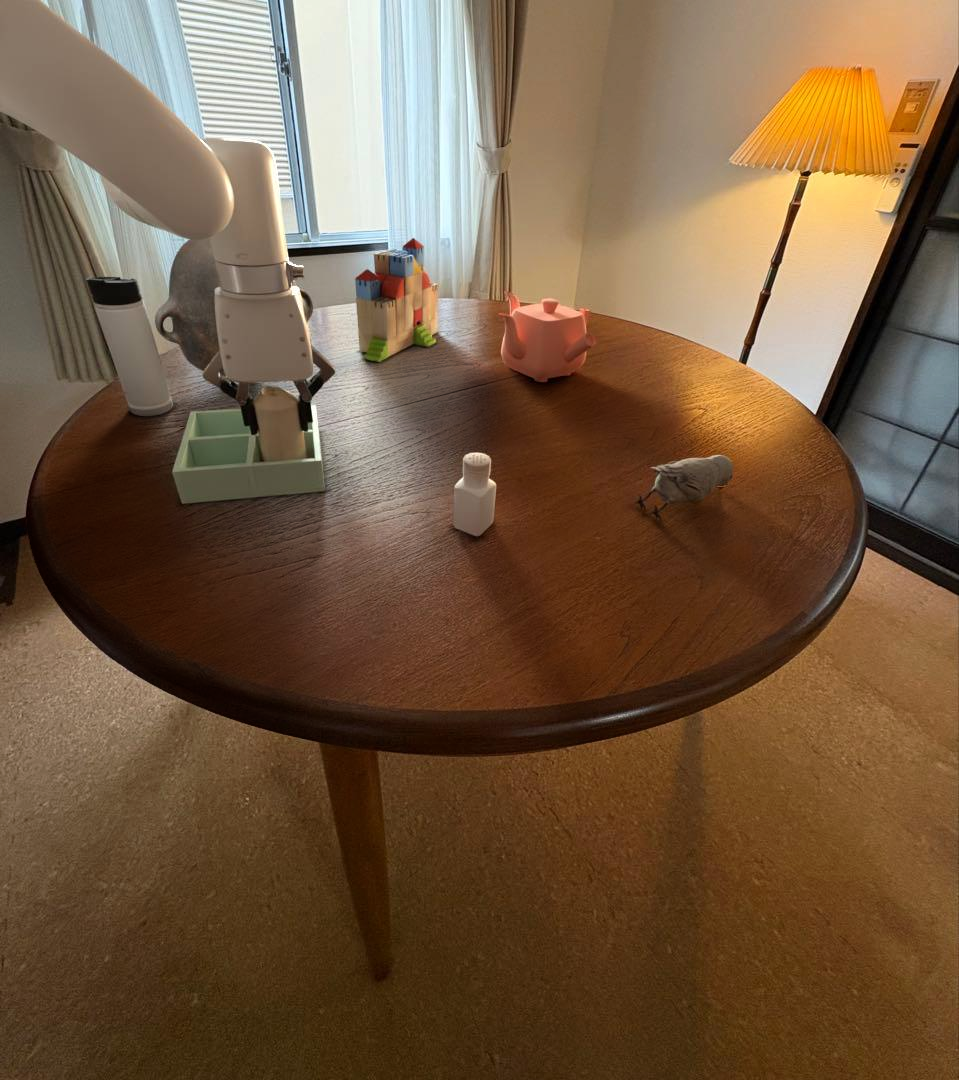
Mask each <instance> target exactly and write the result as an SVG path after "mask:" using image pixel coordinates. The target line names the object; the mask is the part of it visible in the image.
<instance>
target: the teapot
mask: <svg viewBox="0 0 959 1080" xmlns="http://www.w3.org/2000/svg"><path fill="white" fill-rule="evenodd" d="M504 294H505V296H506V297H507V299H508V302H509V314H508V313H500V312H499V313H498V316H500V317H501V318H502V320H503V322H504V335H503V339H502V344H501V349H500V350H501V351H500V354H501V358H502V361H503V363H504V365H505V366H507V367H508V368H509V369H510V368H511V369H512V370H513V371H515V372H518V373H521V375H522V374H523V375H525V376H527V377H529V378H532V379H534V381H535V382H539V383H546V382H548V380H549V379H551V378H558V377H568V376H570V375H571V374H572V373H574V372H577V371H578V370H580V368H581V367H582V366H583V365H584V363H585V361H586V358H587V351H589V350H590V349H592V348H593V347H594V346H595V345H597V338H596V337H595V335H594V334H593V333H592V332H587V324H588V321H589V317H590V316H591V313H592V310H591V309H588V308H581V307H580V308H579V310H576V309H574V308H571V307H567V306H565V305H561V304H560V301H559V300H557V299H554V298H543V299H541V303H533V304H527V305H523V306H521V304H520V302H519V299H518V296H517V295H515V293H513V292H511V291H508V290H504ZM576 370H577V371H576Z"/></svg>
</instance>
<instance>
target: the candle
mask: <svg viewBox="0 0 959 1080" xmlns="http://www.w3.org/2000/svg"><path fill="white" fill-rule="evenodd" d="M253 408H254V413H255V419H256V424H257V429H258V434H259V439H260V445H261V450H262V455H263V460H264V462H273V461H286V460H299V459H307V455H306V447H305V440H304V433H303V430H302V424H301V417H300V410H299V399H298V396H297V395H296V394H295V393H293V392H291V391H289V390H286V389H283V388H281V387H279V386H272V385H267V386H265V387H263V388H262V389H260V391H259V392H258V394H257V395H256V396H255V397H254V398H253Z"/></svg>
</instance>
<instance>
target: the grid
mask: <svg viewBox="0 0 959 1080" xmlns="http://www.w3.org/2000/svg"><path fill="white" fill-rule="evenodd" d="M311 409H312V417H313V422H310V423H308V432H304V431H303V433H304V440H305V447H306V455H307V459H299V460H286V461H273V462H264V460H263V455H262V450H261V445H260V439H259V434H258V433H257V434H256V435H251V431H250V426H244V422H243V417H242V412H241V408H231V409H229V408H228V409H211V410H210V409H209V410H193V411H192V410H191V411H190V413H189V416H188V419H187V422H186V424H185V425H186V426H185V428H184V431H183V435H182V437H181V438H182V439H181V442H180V445H179V448H178V451H177V455H176V459H175V462H174V465H173V468H172V471H171V473H172V476H173V481H174V482H175V486H176V490H177V492H178V495H179V499H180V503H181V504H183V505H185V504H196V503H205V502H206V503H207V502H219V501H229V500H240V499H252V498H262V497H274V496H275V497H276V496H285V495H297V494H304V493H305V494H308V493H319V492H326V485H325V475H324V464H323V454H322V447H321V446H322V445H321V436H320V428H319V419H318V418H319V417H318V411H317V405H316V404H311Z"/></svg>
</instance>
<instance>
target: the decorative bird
mask: <svg viewBox="0 0 959 1080" xmlns="http://www.w3.org/2000/svg"><path fill="white" fill-rule="evenodd" d="M649 468H650V469H654V470H652V471H653V473H656V475H657V476H656V478H655V481H654V486H653V487H652V488H651V489H650V490H649V492H648V493H647V495H646V496H645V497H644V498H643V497H642V495H641V494H638V496H639V498H638V500H637V501H636V502H634V503H633V504H634V505H636V504H638V505H639V506H640V508H639V510H640V511H641V510H642V508H643V509H644V512H647V511H646V510H647V509H646V505H645V504H644V501H646V500H648V498H649V497H650V496H651V495H652V494H653V493H657V494H658V496H659V497H660V498H661V500H662V501H663V502H665V503H664V504H663V505H662V506H661V507H660V508H658V506H657V505H656V504H655V505H654V507H655V508H654V510H653V511H652V512H650V513H649V515H654V516H655V521H658V519H659V520H660V522H662V517H661V515H660V512H662V511H663V510H664V509H665V508H666V507H667V505H670V504H684V503H689V501H690V502H694V503H701V502H702V501H704V500H706V498H707V497H708V496H709V495H710V494H711V493H712V492H713V491H714V490H715V488H717V489H718V490H723V489H724V488H725V487H717V486H724V485H727V486H728V484H729V482H730V481H731V480H732V479H733V475H734V470H735V469H734V464H733V462H732V461H731V459H730V458H729V457H727V455H723V454H715V455H711V456H708V457H689V458H685V459H684V458H683V459H681V460H673V461H670V462H668V463H666V464H663V465H658V466H652V467H651V466H650V467H649Z"/></svg>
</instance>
